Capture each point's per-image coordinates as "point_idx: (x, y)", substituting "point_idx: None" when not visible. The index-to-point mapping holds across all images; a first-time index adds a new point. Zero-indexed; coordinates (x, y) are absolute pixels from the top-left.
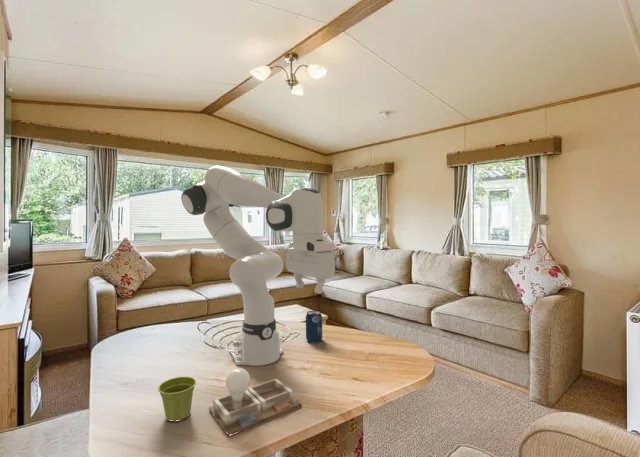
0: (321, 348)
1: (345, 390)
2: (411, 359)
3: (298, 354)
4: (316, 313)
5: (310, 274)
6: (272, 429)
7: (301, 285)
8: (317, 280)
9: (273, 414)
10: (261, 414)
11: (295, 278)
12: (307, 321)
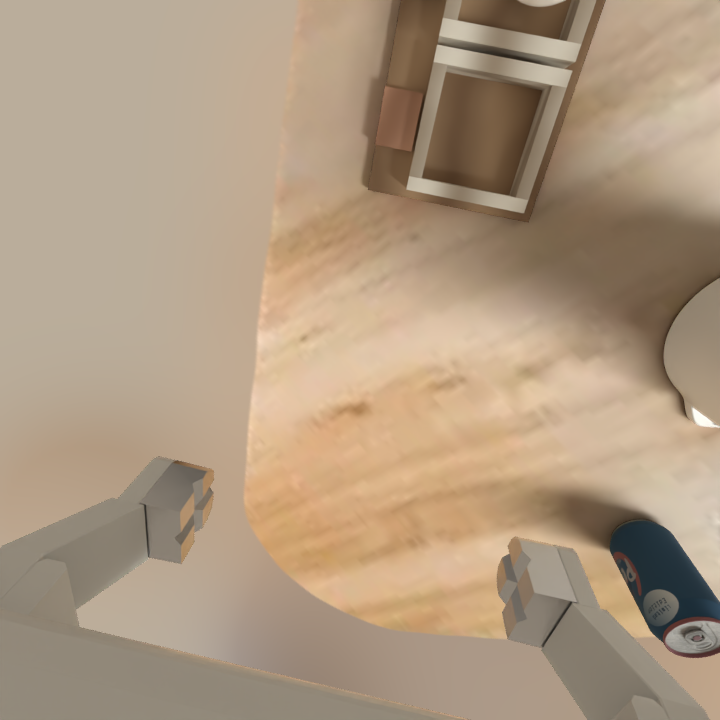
0: (573, 503)
1: (336, 344)
2: (314, 558)
3: (619, 435)
4: (682, 638)
5: (74, 671)
6: (346, 24)
7: (514, 580)
8: (24, 575)
9: (390, 69)
10: (422, 34)
11: (639, 660)
12: (694, 585)
